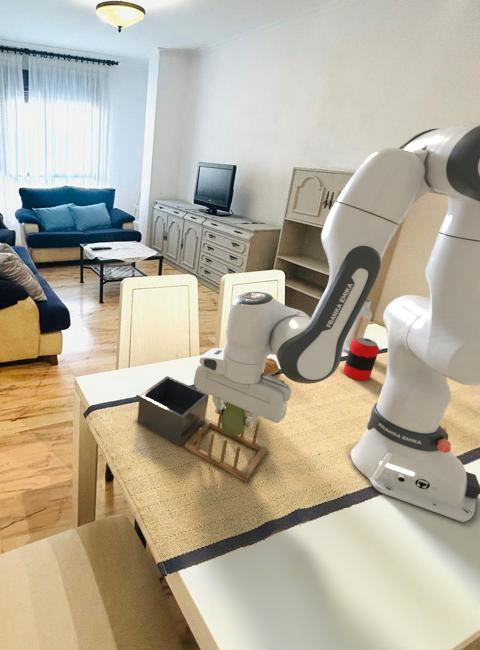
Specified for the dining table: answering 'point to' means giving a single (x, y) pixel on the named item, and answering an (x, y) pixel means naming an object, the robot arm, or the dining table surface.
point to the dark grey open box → (172, 409)
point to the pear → (233, 419)
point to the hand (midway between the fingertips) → (233, 419)
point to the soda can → (361, 359)
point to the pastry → (271, 367)
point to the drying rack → (221, 462)
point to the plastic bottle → (359, 325)
